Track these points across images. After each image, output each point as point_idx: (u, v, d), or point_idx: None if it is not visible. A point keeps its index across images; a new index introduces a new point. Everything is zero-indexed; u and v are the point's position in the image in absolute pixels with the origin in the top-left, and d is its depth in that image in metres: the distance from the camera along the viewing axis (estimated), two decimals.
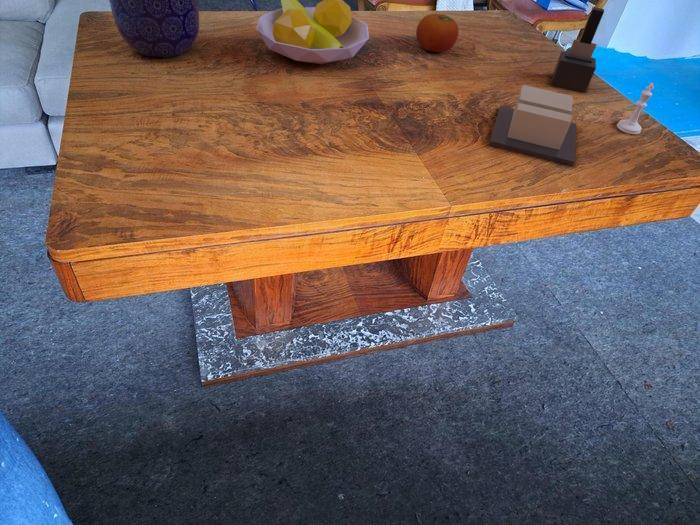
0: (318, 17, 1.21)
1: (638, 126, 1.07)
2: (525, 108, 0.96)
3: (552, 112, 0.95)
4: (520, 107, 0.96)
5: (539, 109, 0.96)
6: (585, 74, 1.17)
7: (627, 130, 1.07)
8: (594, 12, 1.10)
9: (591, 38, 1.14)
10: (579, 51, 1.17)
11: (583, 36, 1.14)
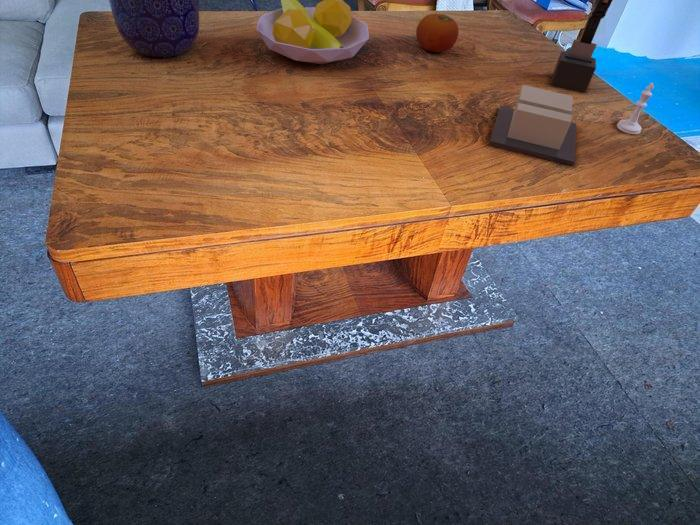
0: (318, 17, 1.21)
1: (638, 126, 1.07)
2: (525, 108, 0.96)
3: (552, 112, 0.95)
4: (520, 107, 0.96)
5: (539, 109, 0.96)
6: (585, 74, 1.17)
7: (627, 130, 1.07)
8: None
9: (591, 38, 1.14)
10: (579, 51, 1.17)
11: (583, 36, 1.14)
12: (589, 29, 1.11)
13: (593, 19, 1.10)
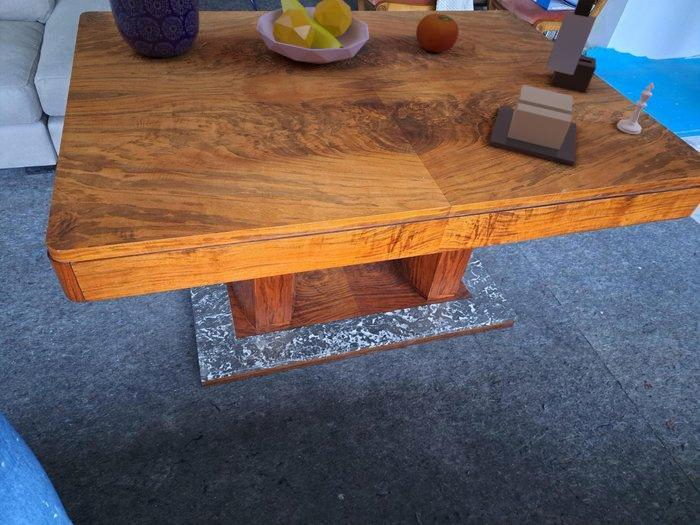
0: (318, 17, 1.21)
1: (638, 126, 1.07)
2: (525, 108, 0.96)
3: (552, 112, 0.95)
4: (520, 107, 0.96)
5: (539, 109, 0.96)
6: (585, 74, 1.17)
7: (627, 130, 1.07)
8: None
9: (589, 9, 0.85)
10: (573, 27, 0.88)
11: (578, 6, 0.85)
12: None
13: None
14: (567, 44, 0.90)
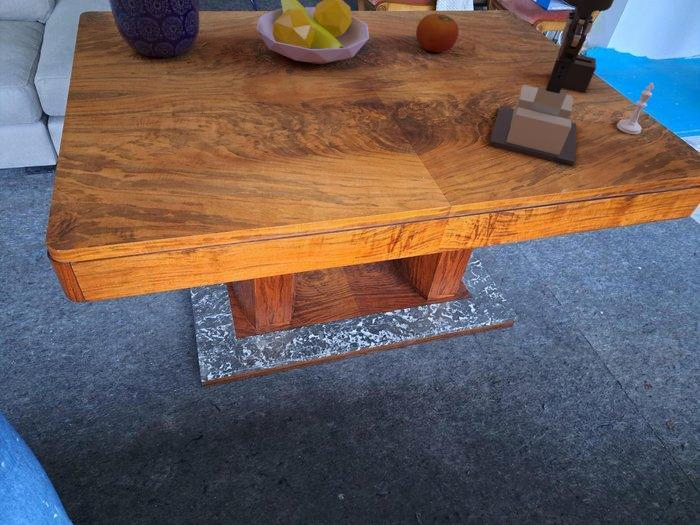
0: (318, 17, 1.21)
1: (638, 126, 1.07)
2: (525, 113, 0.94)
3: (552, 117, 0.94)
4: (519, 111, 0.94)
5: (539, 114, 0.94)
6: (585, 74, 1.17)
7: (627, 130, 1.07)
8: None
9: (559, 86, 0.90)
10: (546, 101, 0.93)
11: (549, 84, 0.90)
12: (556, 77, 0.88)
13: (561, 64, 0.86)
14: None
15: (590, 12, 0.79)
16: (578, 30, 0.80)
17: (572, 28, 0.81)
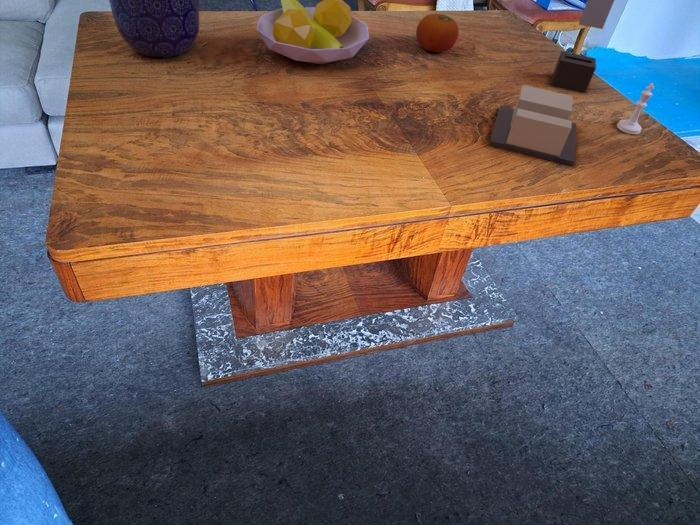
0: (318, 17, 1.21)
1: (638, 126, 1.07)
2: (525, 114, 0.94)
3: (552, 118, 0.94)
4: (519, 112, 0.94)
5: (539, 115, 0.94)
6: (585, 74, 1.17)
7: (627, 130, 1.07)
8: None
9: None
10: None
11: None
12: None
13: None
14: (598, 2, 1.07)
15: None
16: None
17: None
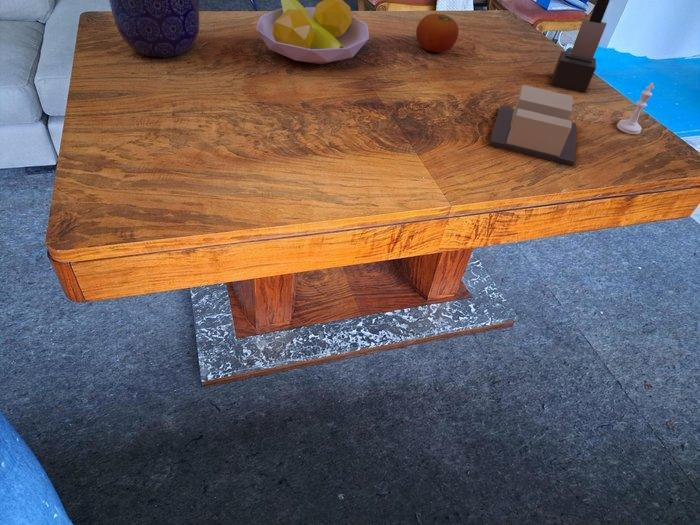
0: (318, 17, 1.21)
1: (638, 126, 1.07)
2: (525, 114, 0.94)
3: (552, 118, 0.94)
4: (519, 112, 0.94)
5: (539, 115, 0.94)
6: (585, 74, 1.17)
7: (627, 130, 1.07)
8: None
9: (601, 17, 1.10)
10: (589, 31, 1.13)
11: (593, 15, 1.11)
12: (601, 0, 1.07)
13: None
14: (584, 44, 1.15)
15: None
16: None
17: None
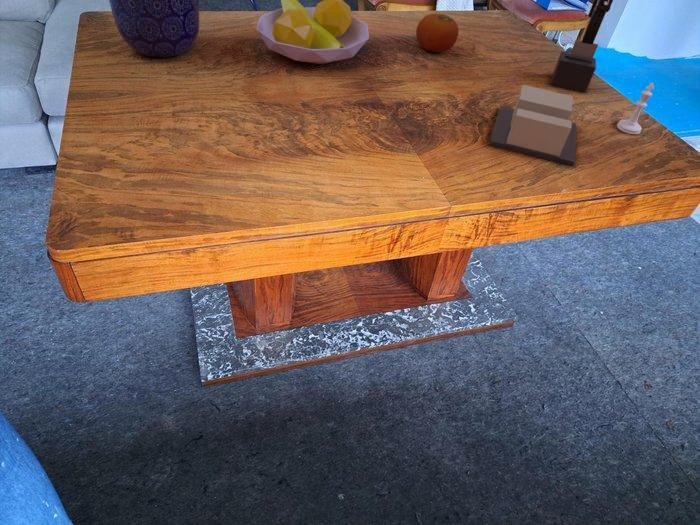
0: (318, 17, 1.21)
1: (638, 126, 1.07)
2: (525, 114, 0.94)
3: (552, 118, 0.94)
4: (519, 112, 0.94)
5: (539, 115, 0.94)
6: (585, 74, 1.17)
7: (627, 130, 1.07)
8: None
9: (593, 38, 1.13)
10: (581, 51, 1.17)
11: (585, 36, 1.14)
12: (593, 24, 1.08)
13: (597, 13, 1.06)
14: None
15: None
16: None
17: None
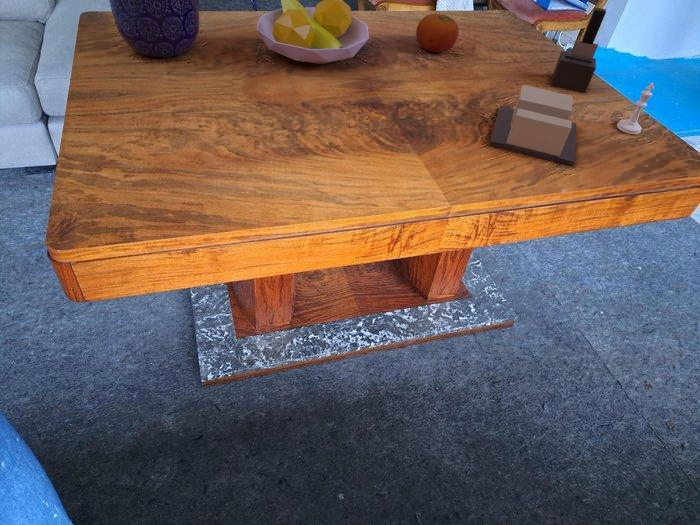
0: (318, 17, 1.21)
1: (638, 126, 1.07)
2: (525, 114, 0.94)
3: (552, 118, 0.94)
4: (519, 112, 0.94)
5: (539, 115, 0.94)
6: (585, 74, 1.17)
7: (627, 130, 1.07)
8: (596, 12, 1.10)
9: (593, 38, 1.13)
10: (581, 51, 1.17)
11: (585, 36, 1.14)
12: None
13: None
14: None
15: None
16: None
17: None
